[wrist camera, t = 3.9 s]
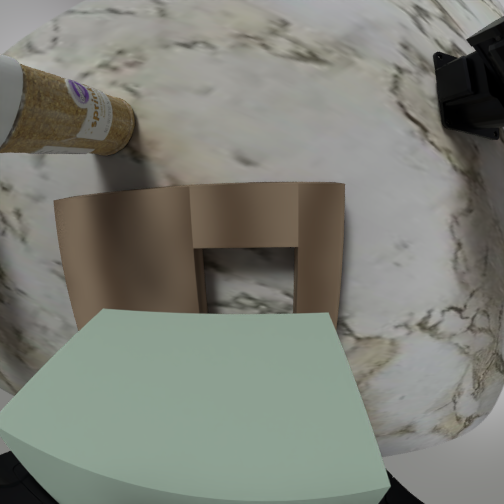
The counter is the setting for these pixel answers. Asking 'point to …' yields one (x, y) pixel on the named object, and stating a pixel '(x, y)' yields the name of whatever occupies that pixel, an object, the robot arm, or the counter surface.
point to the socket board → (196, 243)
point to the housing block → (198, 413)
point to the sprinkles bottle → (58, 114)
